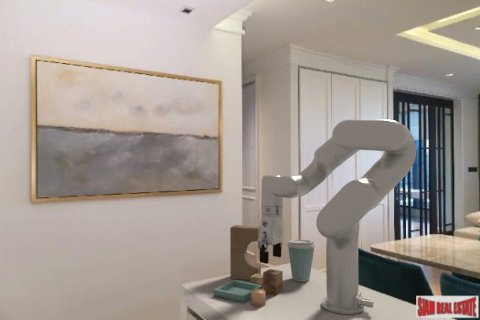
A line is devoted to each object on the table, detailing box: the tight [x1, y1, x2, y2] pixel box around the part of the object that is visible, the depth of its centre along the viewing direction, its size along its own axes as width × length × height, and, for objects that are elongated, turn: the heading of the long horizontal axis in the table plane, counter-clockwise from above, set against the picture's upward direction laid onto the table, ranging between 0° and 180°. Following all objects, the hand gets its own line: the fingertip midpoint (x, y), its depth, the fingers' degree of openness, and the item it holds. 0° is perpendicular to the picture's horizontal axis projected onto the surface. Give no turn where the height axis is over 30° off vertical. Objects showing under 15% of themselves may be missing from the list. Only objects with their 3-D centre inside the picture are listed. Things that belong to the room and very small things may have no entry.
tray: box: [213, 279, 263, 304], centre depth 118 cm, size 12×12×2 cm
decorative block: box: [229, 224, 262, 281], centre depth 135 cm, size 11×6×20 cm, turn 72°
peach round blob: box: [250, 289, 266, 308], centre depth 109 cm, size 4×4×4 cm
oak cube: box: [250, 273, 263, 286], centre depth 125 cm, size 4×4×4 cm
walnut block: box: [262, 268, 284, 297], centre depth 120 cm, size 5×5×7 cm
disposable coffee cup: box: [287, 239, 316, 282], centre depth 134 cm, size 11×11×15 cm
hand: (270, 259), depth 121 cm, fingers open, 9 cm apart
